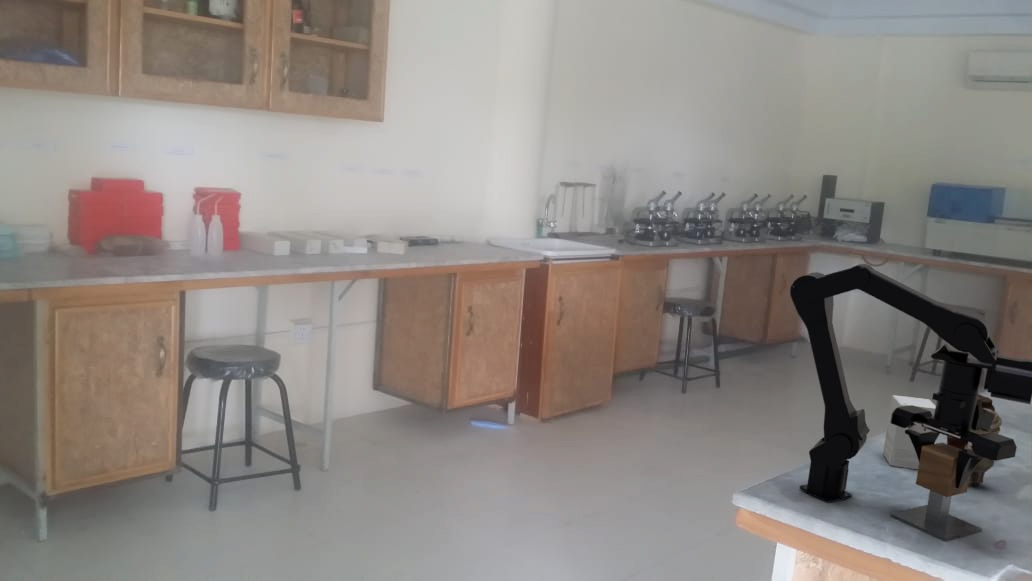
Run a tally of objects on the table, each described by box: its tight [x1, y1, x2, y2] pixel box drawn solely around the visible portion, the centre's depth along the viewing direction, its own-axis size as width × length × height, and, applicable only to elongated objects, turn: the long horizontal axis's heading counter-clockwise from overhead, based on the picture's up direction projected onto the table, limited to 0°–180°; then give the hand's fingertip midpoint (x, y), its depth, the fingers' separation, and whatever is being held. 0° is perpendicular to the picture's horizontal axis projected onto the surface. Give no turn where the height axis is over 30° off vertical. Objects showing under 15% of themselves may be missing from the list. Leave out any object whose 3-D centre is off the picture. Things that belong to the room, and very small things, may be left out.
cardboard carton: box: [915, 442, 970, 497], centre depth 146 cm, size 6×6×7 cm
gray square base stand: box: [889, 490, 983, 542], centre depth 147 cm, size 10×10×7 cm
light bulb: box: [965, 408, 1003, 487], centre depth 166 cm, size 6×6×15 cm
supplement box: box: [882, 394, 936, 471], centre depth 176 cm, size 7×7×13 cm
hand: (942, 481), depth 147 cm, fingers closed on cardboard carton, 6 cm apart
